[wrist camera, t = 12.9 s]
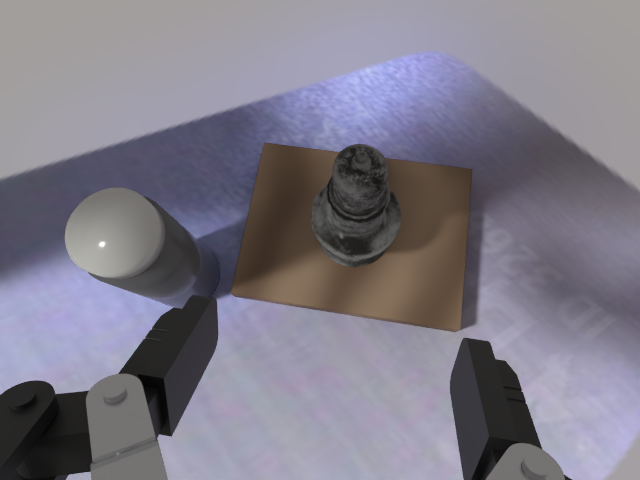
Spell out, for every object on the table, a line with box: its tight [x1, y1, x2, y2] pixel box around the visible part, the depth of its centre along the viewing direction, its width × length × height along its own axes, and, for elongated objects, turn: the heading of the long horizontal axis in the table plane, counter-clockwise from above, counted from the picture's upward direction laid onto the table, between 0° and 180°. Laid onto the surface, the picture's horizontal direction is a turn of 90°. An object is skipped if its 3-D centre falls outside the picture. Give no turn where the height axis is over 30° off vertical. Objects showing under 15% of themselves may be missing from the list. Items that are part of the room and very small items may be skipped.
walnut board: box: [231, 143, 472, 332], centre depth 32 cm, size 16×12×2 cm
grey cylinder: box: [65, 187, 220, 309], centre depth 27 cm, size 5×5×11 cm
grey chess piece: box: [310, 144, 401, 267], centre depth 26 cm, size 6×6×12 cm
